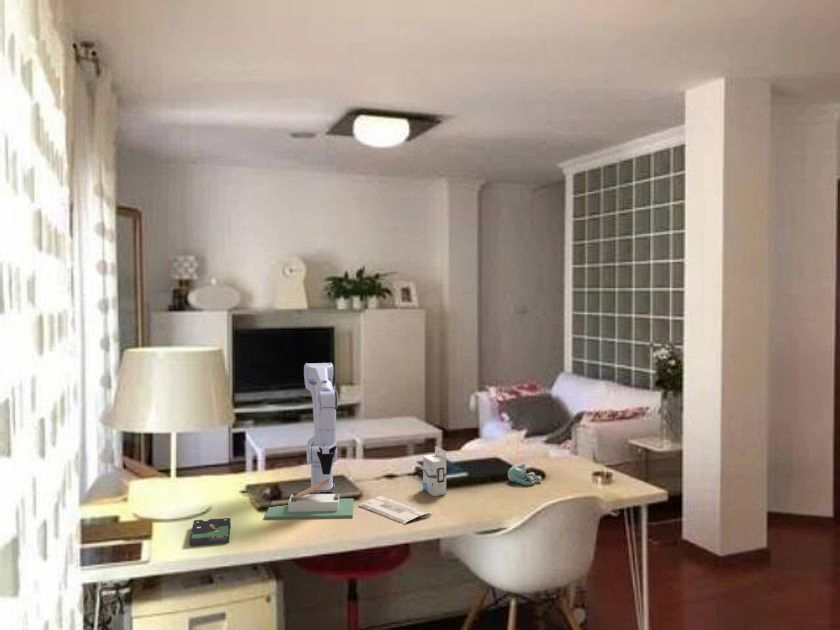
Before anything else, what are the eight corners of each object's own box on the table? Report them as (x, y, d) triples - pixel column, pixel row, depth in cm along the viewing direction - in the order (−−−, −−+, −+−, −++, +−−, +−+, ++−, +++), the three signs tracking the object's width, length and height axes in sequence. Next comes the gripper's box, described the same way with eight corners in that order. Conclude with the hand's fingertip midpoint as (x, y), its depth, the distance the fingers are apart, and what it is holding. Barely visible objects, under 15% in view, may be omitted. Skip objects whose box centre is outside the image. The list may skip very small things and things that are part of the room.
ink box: (422, 489, 234) (422, 447, 234) (435, 487, 236) (435, 445, 236) (433, 496, 227) (434, 452, 226) (446, 494, 229) (447, 451, 228)
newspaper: (434, 517, 209) (434, 509, 208) (405, 530, 200) (404, 522, 200) (386, 498, 225) (386, 491, 225) (357, 511, 217) (356, 503, 217)
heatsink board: (272, 502, 220) (272, 487, 219) (353, 500, 222) (353, 486, 221) (264, 519, 204) (264, 503, 203) (352, 517, 206) (352, 501, 205)
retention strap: (295, 496, 214) (294, 494, 214) (330, 479, 215) (329, 478, 215) (294, 500, 210) (293, 498, 210) (329, 483, 211) (329, 481, 211)
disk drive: (193, 529, 197) (189, 548, 182) (193, 520, 196) (189, 538, 182) (230, 526, 199) (229, 545, 185) (230, 517, 199) (229, 534, 185)
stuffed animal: (545, 471, 238) (511, 464, 238) (541, 491, 238) (507, 484, 239) (541, 463, 249) (509, 457, 249) (537, 482, 249) (505, 476, 250)
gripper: (315, 424, 225) (316, 466, 225) (312, 433, 210) (312, 477, 210) (337, 424, 225) (337, 465, 225) (335, 433, 211) (335, 477, 211)
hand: (327, 471), depth 218 cm, fingers open, 6 cm apart
